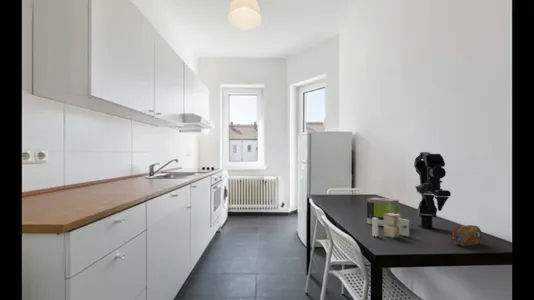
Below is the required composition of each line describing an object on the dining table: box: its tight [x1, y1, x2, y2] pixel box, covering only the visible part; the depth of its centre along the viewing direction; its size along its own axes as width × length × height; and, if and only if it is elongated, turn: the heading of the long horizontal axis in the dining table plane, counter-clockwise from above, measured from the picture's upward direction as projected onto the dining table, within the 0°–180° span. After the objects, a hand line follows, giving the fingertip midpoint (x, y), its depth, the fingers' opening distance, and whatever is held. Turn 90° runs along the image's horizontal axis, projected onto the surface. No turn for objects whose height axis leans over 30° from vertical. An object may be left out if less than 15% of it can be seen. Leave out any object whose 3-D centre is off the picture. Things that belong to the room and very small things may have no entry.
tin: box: [451, 224, 482, 247], centre depth 137 cm, size 15×3×8 cm, turn 106°
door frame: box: [371, 213, 401, 238], centre depth 155 cm, size 22×2×9 cm, turn 126°
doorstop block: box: [383, 213, 400, 239], centre depth 149 cm, size 5×5×11 cm
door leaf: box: [399, 217, 410, 238], centre depth 152 cm, size 10×2×8 cm, turn 36°
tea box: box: [366, 197, 400, 227], centre depth 175 cm, size 15×10×15 cm, turn 45°
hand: (434, 209), depth 152 cm, fingers open, 9 cm apart
